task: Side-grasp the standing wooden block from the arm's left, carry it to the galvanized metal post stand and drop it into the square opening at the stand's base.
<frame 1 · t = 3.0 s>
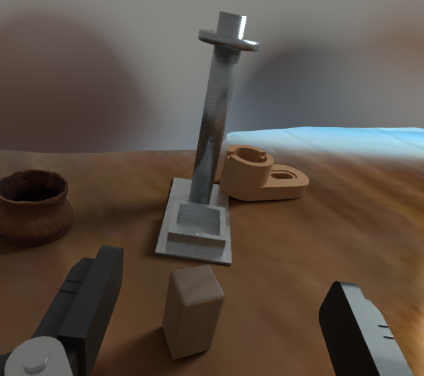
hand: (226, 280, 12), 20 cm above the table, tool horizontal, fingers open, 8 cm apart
wooden block: (185, 339, 32), on the table
ceramic pot: (37, 230, 41), on the table
metal post stand: (195, 235, 45), on the table
bracket: (262, 188, 61), on the table, touching metal post stand
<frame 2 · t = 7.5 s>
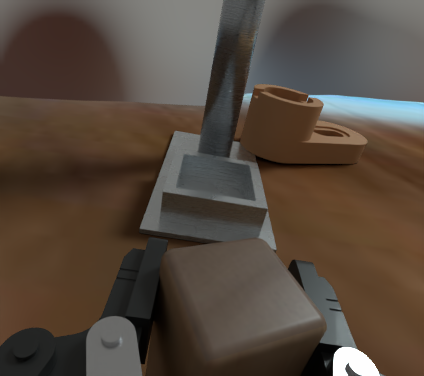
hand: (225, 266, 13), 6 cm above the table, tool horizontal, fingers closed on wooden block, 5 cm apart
metal post stand: (210, 205, 27), on the table
bracket: (300, 150, 43), on the table, touching metal post stand
when the fingers open (10 cm above the table, at t = 12.0 s): wooden block drops 3 cm, resting on metal post stand.
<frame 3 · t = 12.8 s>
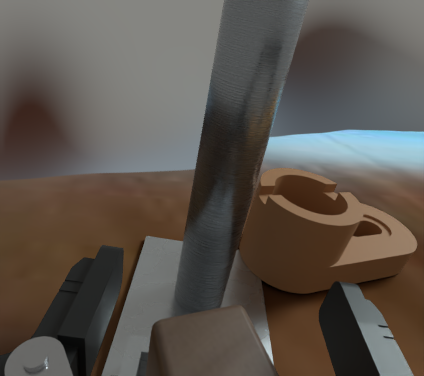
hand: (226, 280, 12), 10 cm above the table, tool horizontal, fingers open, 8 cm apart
bracket: (323, 252, 31), on the table, touching metal post stand
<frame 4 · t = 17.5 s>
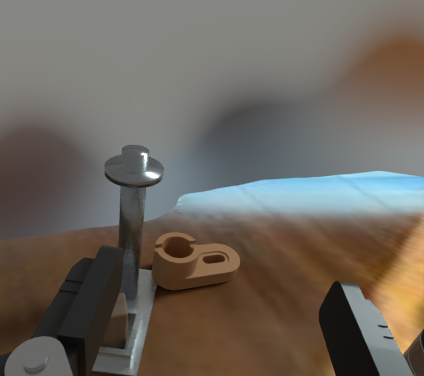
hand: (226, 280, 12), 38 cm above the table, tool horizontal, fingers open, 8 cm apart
wooden block: (111, 339, 48), resting on metal post stand
metal post stand: (111, 340, 48), on the table
bracket: (195, 270, 64), on the table, touching metal post stand
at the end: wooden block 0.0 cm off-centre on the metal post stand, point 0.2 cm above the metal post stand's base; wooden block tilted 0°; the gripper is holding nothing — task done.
